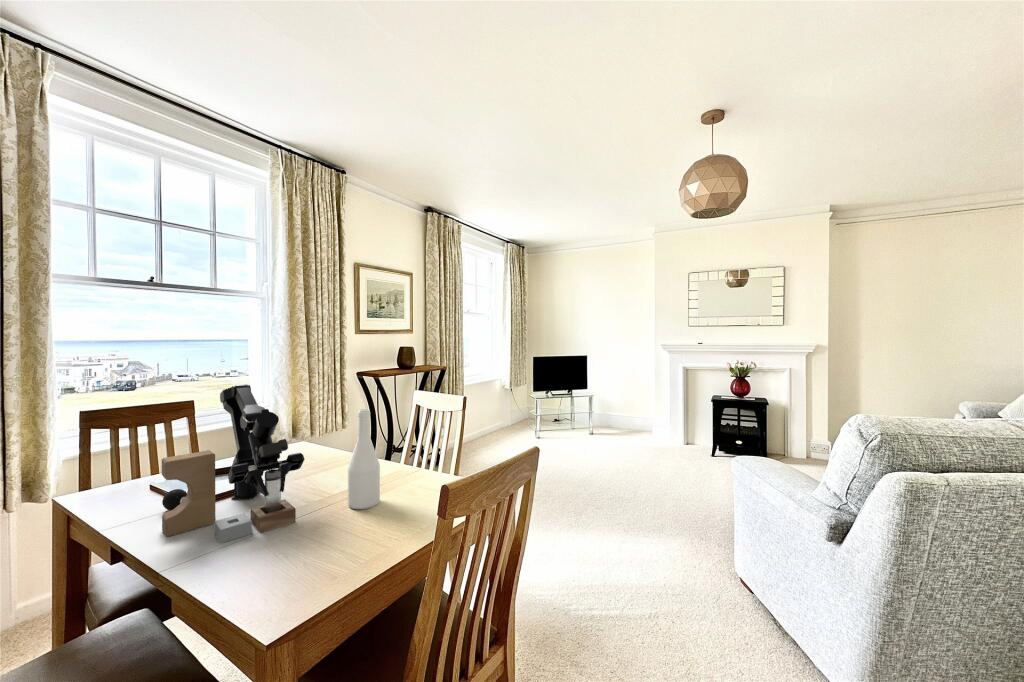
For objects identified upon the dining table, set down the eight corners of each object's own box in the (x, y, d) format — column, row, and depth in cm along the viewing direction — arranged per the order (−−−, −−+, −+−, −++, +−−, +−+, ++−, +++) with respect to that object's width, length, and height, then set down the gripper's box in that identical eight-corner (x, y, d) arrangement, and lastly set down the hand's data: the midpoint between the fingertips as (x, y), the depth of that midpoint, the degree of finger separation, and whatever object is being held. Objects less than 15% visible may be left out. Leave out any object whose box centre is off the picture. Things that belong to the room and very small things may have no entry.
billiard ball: (173, 514, 123) (173, 494, 123) (157, 512, 125) (157, 492, 125) (193, 506, 129) (192, 487, 129) (177, 504, 131) (177, 485, 130)
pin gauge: (262, 520, 117) (262, 474, 116) (268, 513, 121) (268, 469, 120) (277, 519, 117) (277, 473, 117) (283, 513, 121) (283, 469, 121)
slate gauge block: (214, 533, 112) (214, 521, 112) (244, 525, 117) (244, 513, 117) (220, 543, 107) (220, 529, 107) (251, 533, 112) (251, 520, 112)
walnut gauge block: (250, 522, 119) (250, 508, 119) (284, 512, 125) (284, 499, 125) (259, 532, 112) (259, 518, 112) (295, 522, 119) (295, 508, 119)
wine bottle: (355, 497, 137) (355, 406, 136) (383, 498, 136) (384, 407, 136) (342, 510, 127) (342, 412, 127) (373, 510, 127) (373, 412, 126)
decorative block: (165, 538, 109) (164, 462, 109) (161, 530, 113) (161, 457, 113) (216, 524, 117) (215, 453, 117) (211, 517, 121) (210, 449, 121)
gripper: (230, 437, 114) (241, 487, 107) (302, 426, 128) (316, 470, 120) (223, 459, 120) (233, 508, 113) (293, 446, 133) (306, 490, 126)
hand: (274, 493), depth 118 cm, fingers closed on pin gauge, 4 cm apart
